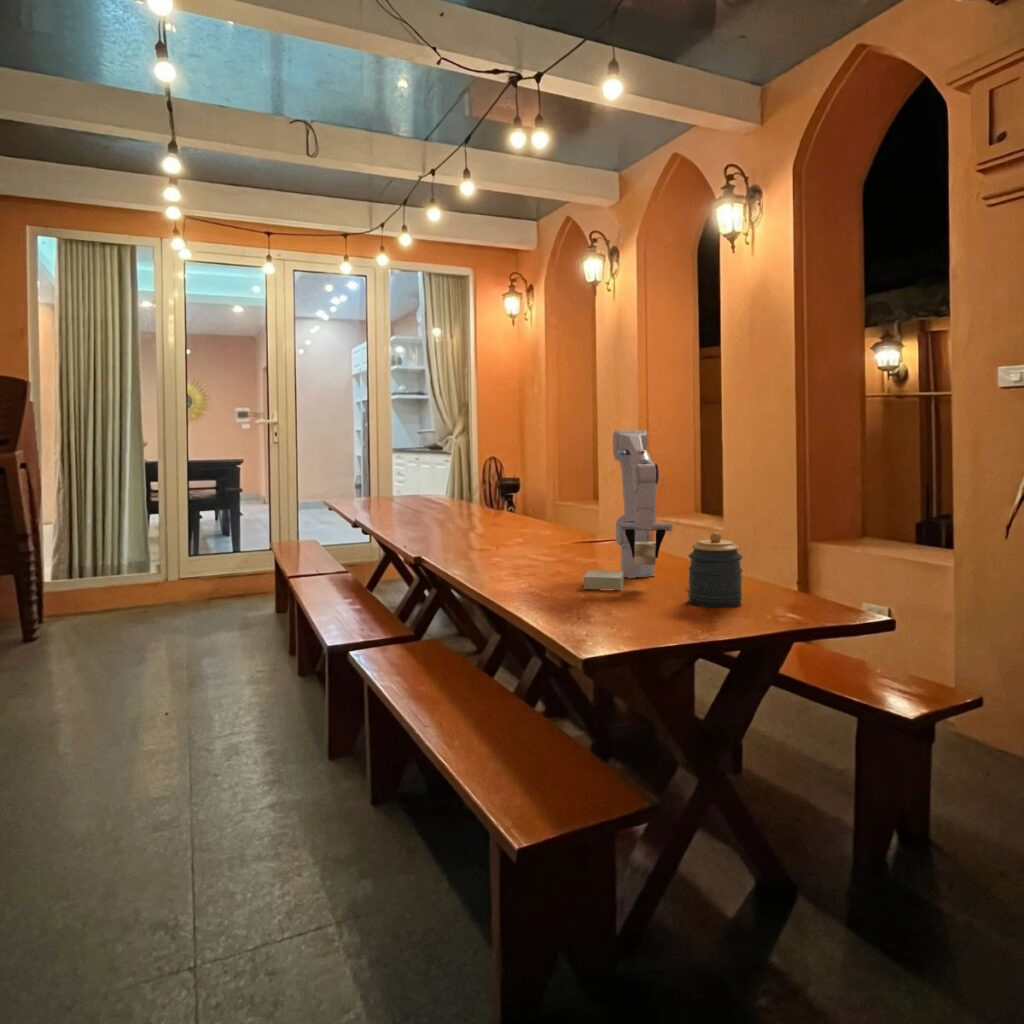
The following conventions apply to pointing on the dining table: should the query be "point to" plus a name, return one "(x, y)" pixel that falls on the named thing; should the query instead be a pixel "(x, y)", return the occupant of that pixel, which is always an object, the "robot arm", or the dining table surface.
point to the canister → (715, 573)
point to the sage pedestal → (604, 580)
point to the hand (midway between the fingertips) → (645, 557)
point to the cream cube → (645, 553)
